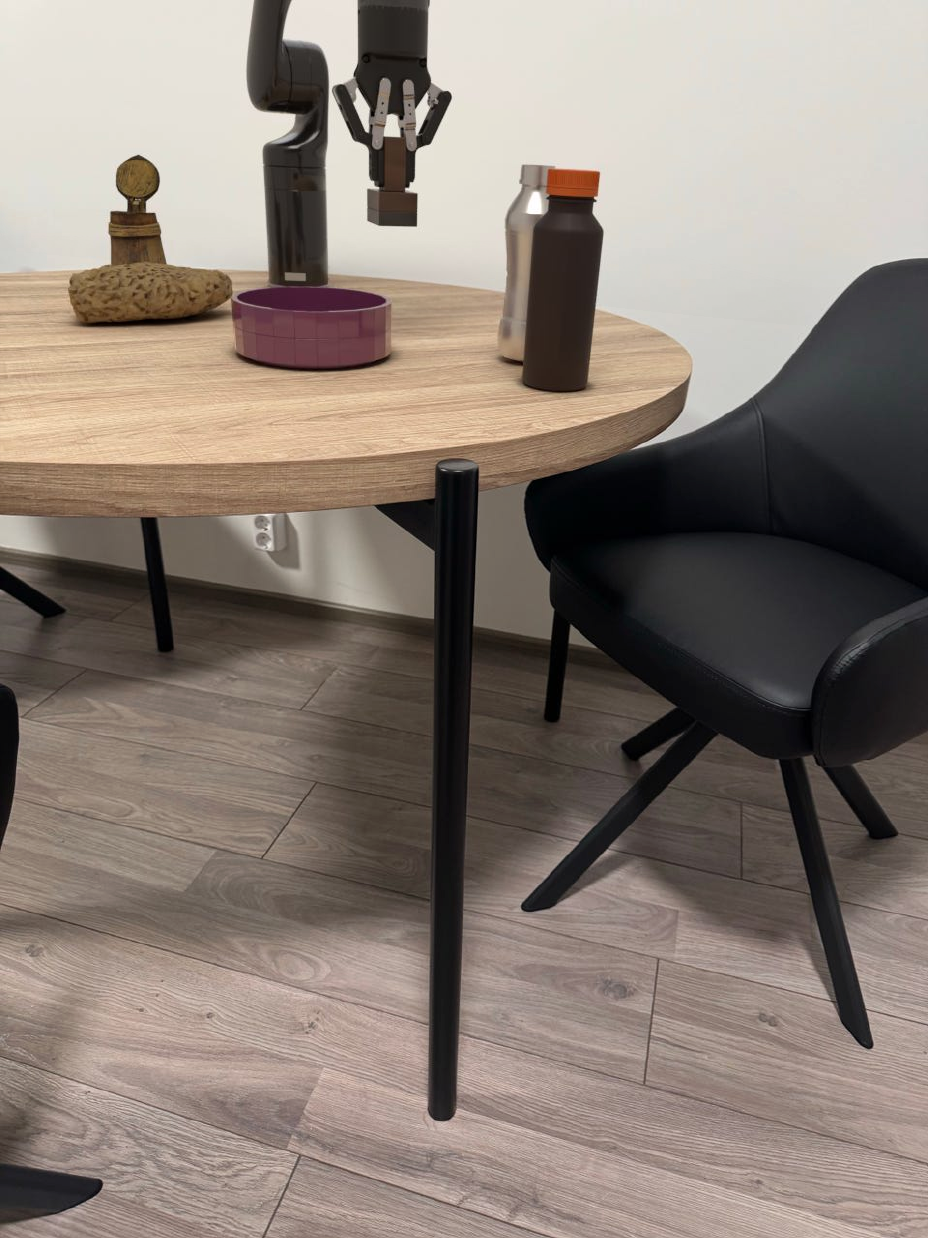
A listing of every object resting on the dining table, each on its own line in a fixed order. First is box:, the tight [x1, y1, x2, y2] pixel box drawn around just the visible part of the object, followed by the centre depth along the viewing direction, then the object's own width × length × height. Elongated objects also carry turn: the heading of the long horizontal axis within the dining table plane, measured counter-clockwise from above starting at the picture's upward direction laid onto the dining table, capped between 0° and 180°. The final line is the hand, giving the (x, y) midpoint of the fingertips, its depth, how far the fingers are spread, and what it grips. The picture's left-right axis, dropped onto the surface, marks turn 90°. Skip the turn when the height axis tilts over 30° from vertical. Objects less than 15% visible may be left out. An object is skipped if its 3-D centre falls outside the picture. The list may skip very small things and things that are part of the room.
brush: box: [366, 135, 419, 228], centre depth 104 cm, size 6×4×9 cm
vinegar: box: [521, 168, 605, 392], centre depth 90 cm, size 7×7×20 cm
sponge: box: [67, 262, 234, 324], centre depth 115 cm, size 13×8×20 cm
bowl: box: [230, 286, 393, 370], centre depth 101 cm, size 17×17×6 cm
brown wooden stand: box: [107, 154, 168, 266], centre depth 128 cm, size 9×14×18 cm, turn 8°
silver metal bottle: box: [496, 164, 556, 363], centre depth 99 cm, size 6×7×20 cm
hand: (391, 186), depth 104 cm, fingers closed on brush, 2 cm apart
